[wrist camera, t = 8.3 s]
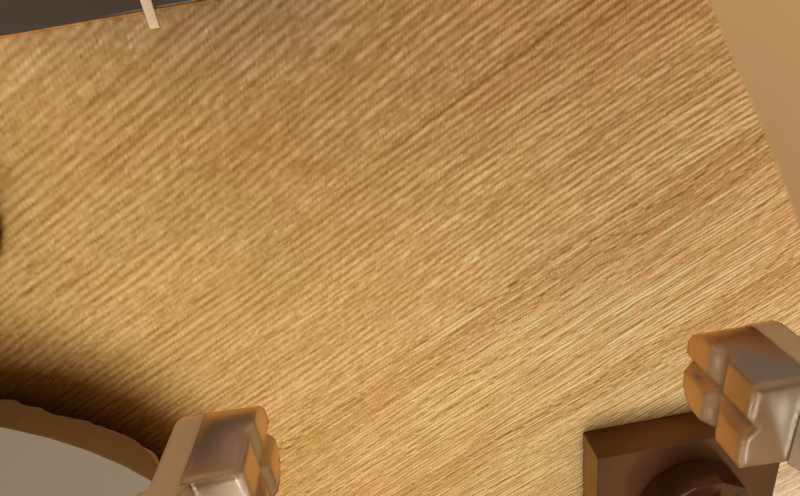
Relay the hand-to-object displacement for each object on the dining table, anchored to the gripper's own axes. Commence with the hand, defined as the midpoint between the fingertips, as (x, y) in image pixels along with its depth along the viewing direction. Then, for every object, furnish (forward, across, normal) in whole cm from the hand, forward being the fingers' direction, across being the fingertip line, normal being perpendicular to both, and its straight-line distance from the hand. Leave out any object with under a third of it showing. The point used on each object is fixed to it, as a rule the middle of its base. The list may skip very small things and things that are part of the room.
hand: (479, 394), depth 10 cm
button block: (+17, -15, +25) cm, 34 cm away
